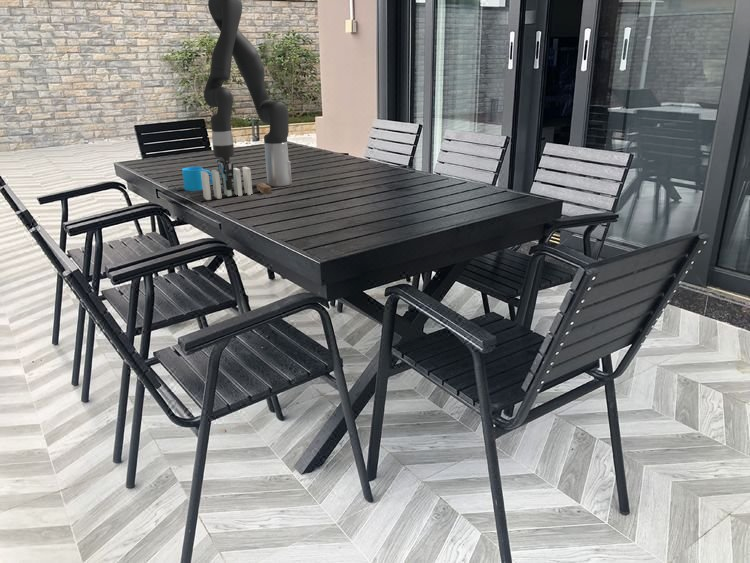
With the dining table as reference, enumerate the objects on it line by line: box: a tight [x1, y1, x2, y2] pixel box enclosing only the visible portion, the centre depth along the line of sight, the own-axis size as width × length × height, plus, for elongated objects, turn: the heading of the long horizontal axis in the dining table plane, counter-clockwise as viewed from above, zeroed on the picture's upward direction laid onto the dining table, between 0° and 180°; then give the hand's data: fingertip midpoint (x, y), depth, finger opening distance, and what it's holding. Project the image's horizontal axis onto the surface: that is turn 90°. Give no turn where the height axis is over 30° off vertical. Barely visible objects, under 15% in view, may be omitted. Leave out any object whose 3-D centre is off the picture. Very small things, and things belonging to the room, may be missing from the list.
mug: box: [181, 166, 213, 192], centre depth 248 cm, size 12×8×8 cm
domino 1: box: [201, 171, 212, 201], centre depth 230 cm, size 2×5×10 cm, turn 28°
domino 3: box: [222, 170, 233, 197], centre depth 233 cm, size 2×5×10 cm, turn 28°
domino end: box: [242, 166, 254, 196], centre depth 237 cm, size 2×5×10 cm, turn 28°
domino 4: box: [232, 167, 243, 197], centre depth 235 cm, size 2×5×10 cm, turn 28°
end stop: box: [255, 182, 272, 195], centre depth 241 cm, size 3×9×2 cm, turn 28°
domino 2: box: [210, 169, 223, 199], centre depth 231 cm, size 2×5×10 cm, turn 28°
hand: (227, 188), depth 234 cm, fingers closed on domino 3, 4 cm apart
